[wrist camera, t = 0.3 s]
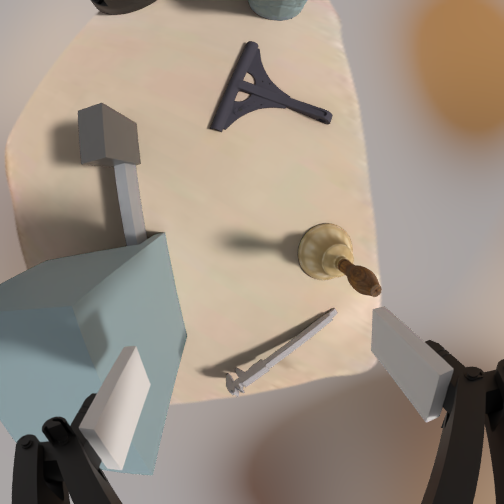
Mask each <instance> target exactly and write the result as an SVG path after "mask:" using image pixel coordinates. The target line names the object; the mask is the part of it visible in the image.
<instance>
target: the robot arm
mask: <svg viewBox="0 0 504 504" xmlns="http://www.w3.org/2000/svg"><path fill="white" fill-rule="evenodd" d="M91 1H92V3H93V4H94V5H95V7H96V8H97V9H98V10H100V11H101V12H104V13H107V14H124V13H129V12H133V11H136V10H139V9H141V8H143V7H146V6H148V5H150V4H151V3H153V2H155V1H156V0H91ZM371 351H372V352H373V353H374V355H375V356H376V357H377V359H378V360H379V361H380V362H381V364H382V365H383V366H384V368H385V369H386V370H387V371H388V373H389V374H390V375H391V377H392V378H393V379H394V381H395V382H396V383H397V385H398V386H399V387H400V388H401V390H402V391H403V392H404V394H405V395H406V396H407V398H408V399H409V400H410V402H411V403H412V404H413V406H414V407H415V408H416V410H417V411H418V412H419V414H420V415H421V416H422V418H423V419H424V420H425V422H428V421H430V420H432V419H435V418H436V417H439V416H440V413H441V410H442V408H444V409H445V410H446V411H447V413H446V416H445V419H444V421H443V424H442V427H441V428H443V431H442V435H441V439H440V444H439V448H438V451H437V456H436V459H435V463H434V466H433V470H432V473H431V476H430V480H429V482H428V486H427V489H426V492H425V494H424V497H423V500H422V503H421V504H473V500H474V496H475V491H476V486H477V481H478V476H479V470H480V463H481V456H482V448H483V438H484V426H485V427H486V432H487V437H488V442H489V448H490V454H491V460H492V467H493V474H494V483H495V494H496V504H504V359H503V360H501V361H500V362H498V365H497V368H496V370H493V371H489V372H483V371H482V370H481V369H479V368H477V367H465V366H464V365H462V364H461V363H460V362H459V361H457V359H456V358H455V357H453V356H452V355H451V354H449V352H448V351H447V350H445V349H444V348H443V347H442V346H441V345H440V344H439V343H436V342H433V341H431V340H429V341H426V342H424V341H423V340H422V339H421V338H420V337H419V336H418V335H416V334H415V333H414V332H413V331H412V330H411V329H409V327H407V326H406V325H405V324H404V323H403V322H402V321H401V320H400V319H398V318H397V317H396V316H395V315H394V314H393V313H391V312H390V311H389V310H388V309H387V308H386V307H380V308H376V309H373V319H372V343H371ZM150 385H151V384H150V382H149V379H148V377H147V374H146V371H145V369H144V366H143V363H142V361H141V358H140V355H139V352H138V350H137V347H136V346H127V347H124V348H123V349H122V351H121V353H120V355H119V356H118V358H117V360H116V361H115V363H114V365H113V366H112V368H111V370H110V372H109V373H108V375H107V377H106V379H105V380H104V382H103V384H102V386H101V387H100V389H99V391H98V393H92V394H91V395H90V396H88V397H87V398H86V399H85V400H84V402H83V404H82V406H81V407H80V409H79V411H78V413H77V414H76V416H75V418H74V420H73V421H72V423H71V425H69V424H68V422H67V421H66V419H65V418H63V417H53V418H50V419H48V420H47V421H46V422H45V423H44V424H43V426H42V432H43V434H44V435H45V436H46V438H47V439H48V441H46V442H40V441H39V440H38V438H37V437H36V436H35V435H32V434H27V435H24V436H22V437H21V438H20V439H19V440H18V441H17V444H16V451H15V458H14V468H13V482H12V504H70V500H69V494H70V496H71V498H72V501H73V503H74V504H122V502H121V501H120V499H119V498H118V496H117V495H116V493H115V492H114V490H113V488H112V487H111V485H110V483H109V482H108V480H107V478H106V476H105V475H104V473H103V471H102V470H101V469H100V464H101V461H102V462H103V463H104V465H105V466H106V467H107V469H114V470H122V469H123V466H124V463H125V460H126V457H127V453H128V450H129V447H130V444H131V441H132V438H133V435H134V432H135V429H136V426H137V423H138V420H139V417H140V414H141V411H142V408H143V405H144V402H145V399H146V397H147V394H148V391H149V388H150Z"/></svg>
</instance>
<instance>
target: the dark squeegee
mask: <svg viewBox="0 0 504 504" xmlns="http://www.w3.org/2000/svg"><path fill="white" fill-rule="evenodd" d="M246 72H248V73H250V74H251V75H252V76H253V77H254V78H255V81H256V85H254V84H251V83H248V82H246V81H243V79H244V77H245V74H246ZM239 91H242V92H246V93H249V94H251V96H250V97H249V98H248V99H247V100H245V101H241V102H238V101H234V100H235V98H236V95H237V93H238V92H239ZM253 102H254V103H253ZM286 107H287V108H290V109H292V110H295V111H297V112H300V113H302V114H304V115H307V116H309V117H312V118H314V119H316V120H318V121H321V122H323V123H325V124H330V122H331V119H332V114H331V113H330V112H329V111H327V110H325V109H322V108H318V107H315V106H313V105H310V104H307V103H304V102H301V101H298V100H295V99H292V98H290V96H288V95H287V94H286V93H284V92H283V91H281V90H280V89H279V88H278V87H277V86H276V85H275V84H274V83H273V82H272V81H271V80H270V78H269V77H268V75H267V74H266V72H265V70H264V68H263V65H262V62H261V57H260V49H258V44H257V43H255V42H252V41H249V42H248V43H247V45H246V47H245V49H244V51H243V53H242V55H241V57H240V59H239V62H238V64H237V66H236V68H235V70H234V73H233V75H232V77H231V79H230V82H229V84H228V86H227V89H226V91H225V93H224V96H223V98H222V100H221V103H220V105H219V108H218V110H217V112H216V115H215V117H214V120H213V122H212V125H211V127H210V128H211V129H217V130H219V131H220V132H222V130H223V129H224V130H226V129H227V128H228V127H229V126H230V125H231V124H232V123H233V122H234V121H236V120H237V119H238V118H240V117H241V116H243V115H245V114H247V113H249V112H252V111H254V110H257V109H262V108H286Z"/></svg>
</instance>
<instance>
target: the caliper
mask: <svg viewBox="0 0 504 504" xmlns="http://www.w3.org/2000/svg"><path fill="white" fill-rule="evenodd" d="M335 315H337V311H336V309H335V308H334V309H332V310H331V311H330V312H329V313H326V314H325V315H323V316H322V317H320V318H319V319H317V320H316V321H315V322H314V323H312V324H311V325H310V326H309V327H307V328H306V329H305V330H304V331H302V332H301V333H300V334H298V335H297V336H296V337H294V338H293V339H292V340H291V341H289V342H288V343H287V344H285V345H284V346H283V347H281V348H280V349H279V350H277V351H276V352H274V353H273V354H272V355H270V356H269V357H268V358H266V359H265V360H262V359H260V360H259V361H258V362H257V363H255V364H253V365H252V366H251V367H250V368H249V370H247V371H246V372H244V371H242V370H240V369H239V368H237V369H235V370H236V374H237V375H238V377H239V378H238V379H236V380H235V381H234V380H233V378H232V376H231V375H230V374H229V373H228V374H227V375H226V387H227V389H228V391H229V392H230V393H231V394H232V395H234V394H235V395H236V396H237V397H238V396H239V391H240V392H242V393H244V390H243V387H244V386H245V387H247V386H248V385H250V384H251V383H253V382H254V381H255V380H257V379H258V378H260V377H261V376H262V375H264V374H265V373H267V372H268V371H269V369H270V368H271V367H272V366H274V365H275V364H277V363H278V362H279V361H281V360H282V359H283V358H285V357H286V356H287V355H289V354H290V353H291V352H293V351H294V350H295V349H297V348H298V347H299V346H301V345H302V344H303V343H305V342H306V341H307V340H308V339H310V338H311V337H312V336H314V335H315V334H316V333H317V332H319V331H320V330H321V329H322V328H324V327H325V326H326V325H327V324H328V323H330V322H331V321H332V320H333V319H332V318H333V317H334V316H335ZM238 390H239V391H238Z"/></svg>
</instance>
